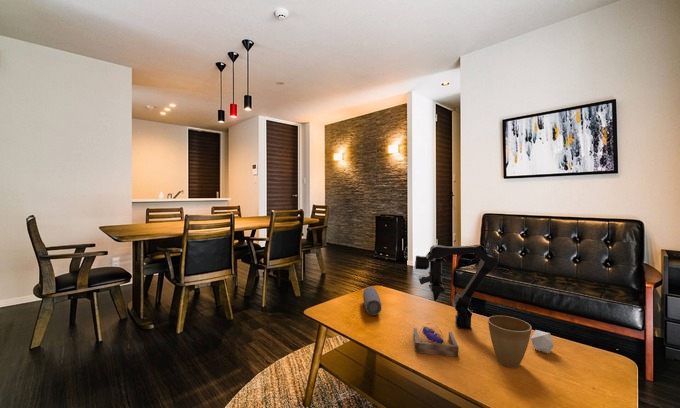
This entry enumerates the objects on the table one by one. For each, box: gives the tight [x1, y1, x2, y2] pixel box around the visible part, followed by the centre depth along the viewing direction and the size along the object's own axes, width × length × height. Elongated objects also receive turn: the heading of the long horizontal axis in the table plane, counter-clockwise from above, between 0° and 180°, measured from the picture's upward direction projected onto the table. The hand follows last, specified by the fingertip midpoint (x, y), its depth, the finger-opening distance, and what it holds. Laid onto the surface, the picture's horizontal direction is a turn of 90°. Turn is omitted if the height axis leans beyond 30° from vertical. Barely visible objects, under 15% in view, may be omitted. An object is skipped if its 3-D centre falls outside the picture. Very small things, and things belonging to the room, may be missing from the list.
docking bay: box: [412, 328, 459, 358], centre depth 127 cm, size 17×14×4 cm
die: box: [530, 329, 555, 354], centre depth 125 cm, size 8×9×10 cm
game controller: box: [418, 322, 444, 344], centre depth 130 cm, size 11×9×11 cm
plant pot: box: [487, 315, 533, 369], centre depth 116 cm, size 15×15×16 cm
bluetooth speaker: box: [362, 286, 382, 316], centre depth 168 cm, size 23×9×10 cm, turn 179°
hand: (435, 300), depth 149 cm, fingers closed
